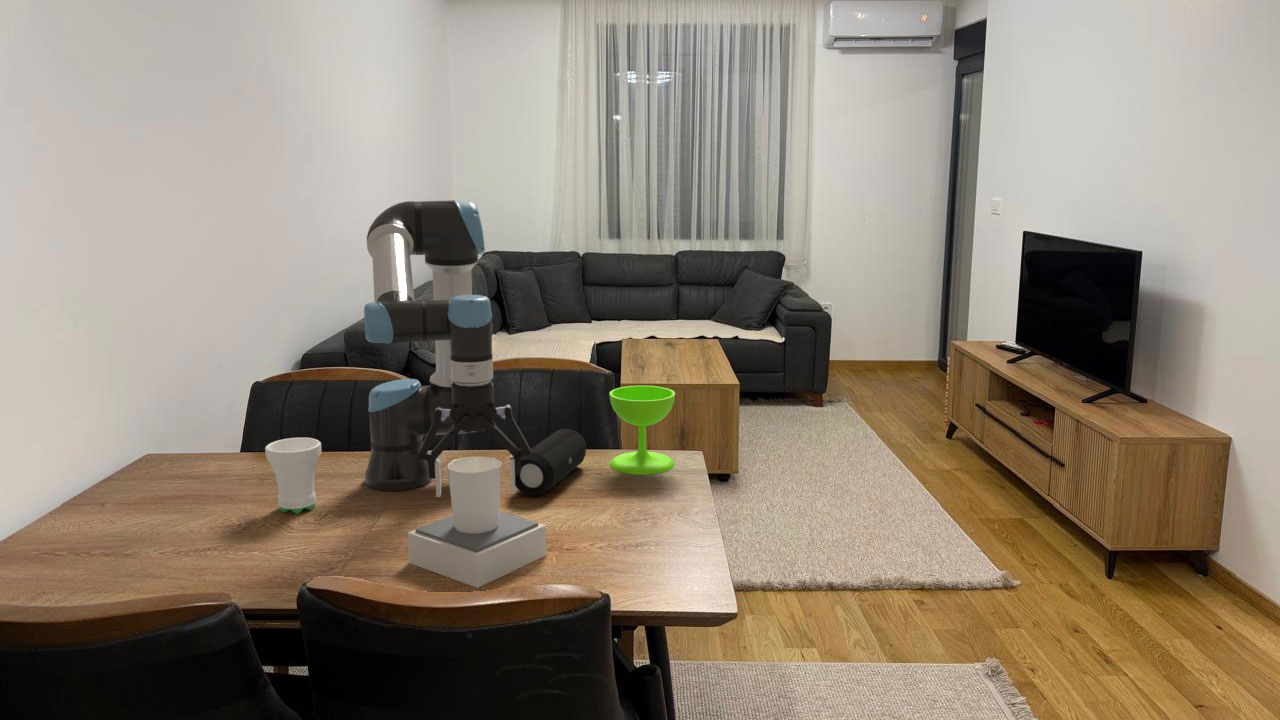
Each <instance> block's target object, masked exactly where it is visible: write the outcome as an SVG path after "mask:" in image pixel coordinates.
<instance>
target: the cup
mask: <svg viewBox="0 0 1280 720" xmlns="http://www.w3.org/2000/svg"><path fill="white" fill-rule="evenodd" d="M264 450H265V457H266V461H268V462H269V464H270V466H271V467H272V470H273V473H274V476H275V479H276V483H277V489H278V497H277V502H278V503H277V504H278V506H279V509H280V511H281V512H282V513H289V511H292V513H294V514H297V515H299V514H300V513H302V511H303V510H304V509H305V510H307V511H312V510H314V509H315V506H316V503H317V493H316V491H315V478H316V477H315V476H316V475H315V474H316V469H317V465H318V461H319V458H320V456H322V442H321V441H320V440H318V439H317V438H316V439H315V438H312V437H291V438H284V439H283V438H282V439H279V440H275V441H273V442H270V443H268V444H267V445H266V446H265V447H264Z"/></svg>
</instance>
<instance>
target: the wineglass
mask: <svg viewBox="0 0 1280 720" xmlns="http://www.w3.org/2000/svg"><path fill="white" fill-rule="evenodd" d="M608 395H609V401H610V404H611V407H612V409H613V411H614V412H615V414H616V415H617V416H618V417H619V418H620V419H621V420H622V421H623V422H626V423H627V424H629V425H633V426H637V428H638V430H637V431H638V432H637V433H638V449H637V451H630V452H623V453H621V454H619V455H617V456H614V457H613V458H612V459H611V460H610V462H609V466H610V468H611V469H612V470H614V471H616V472H619V473H622V474H628V475H636V476H637V475H640V476H644V475H647V476H648V475H657V474H661V473H665V472H668V471H671V470H672V469H674V467H675V466H676V465H675V461H674V460H673V459H672V458H671V457H670V456H668V455H666V454H663V453H660V452H654V451H648V450H647V427H648V426H652V425H655V424H658V423H659V422H661V421H662V420H664V419H665V417H667V416H668V414H669V412H671V411H672V408H673V406H674V403H675V397H676V391H674V390H673V389H671V388H667V387H662V386H656V385H629V386H628V385H627V386H621V387H617V388H614V389H612V390H610V391H609V394H608Z"/></svg>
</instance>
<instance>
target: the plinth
mask: <svg viewBox="0 0 1280 720" xmlns="http://www.w3.org/2000/svg"><path fill="white" fill-rule="evenodd" d="M407 543H408V544H407V545H408V564H411V565H413V566H416V567H420V568H422V569H425V570H428V571H430V572H433V573H436V574H439V575H440V576H444V577H447V578H449V579H453V580H455V581H457V582H461V583H463V584H466V585H468V586H471V587H474V588H476V589H478V588H481V587H483V586H484V585H487V584H488V583H491V582H493V581H495V580H497V579H499V578H501V577H504V576H506V575H508V574H510V573H512V572H514V571H516V570H518V568H519V569H521V568H523V567H524V566H525V567H526V566H527V565H529V564H532V563H533V562H535V561H538V560H540V559H541V558H544V557H546V556H547V551H548V550H547V525H546V524H543V523H539V522H538V521H537V522H536V521H534V520H530V519H527V518H523V517H520V516H518V515H517V516H516V515H513V514H510V513H507V512H503V511H500V514H499V525H498V527H497V528H496V529H494V530H492V531H489V532H486V533H480V534H467V533H462V532H459V531H457V530H456V529H455V528H454V523H453V514H451V515H449V516H446V517H444V518H441V519H439V520H436V521H433V522H430V523H428V524H425V525H423V526H420V527H417V528H415V529H413V530H411V531H408V532H407Z"/></svg>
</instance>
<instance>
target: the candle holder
mask: <svg viewBox="0 0 1280 720" xmlns="http://www.w3.org/2000/svg"><path fill="white" fill-rule="evenodd" d="M446 468H447V474H448V475H447V476H448V483H449V485H448V486H449V494H450V495H449V496H450V502H451V512H452V514H451V515H453V523H454V528H455V529H456V530H457V531H459V532H462V533H467V534H480V533H486V532H489V531H492V530H494V529H496V528H497V527H498V525H499V514H500V512H501V509H500V508H501V507H500V506H501V479H502V478H501V474H502V473H501V472H502V471H501V470H502V461H500V460H499V459H497V458H494V457H490V456H480V455H479V456H467V457H466V456H465V457H461V458H458V459H454V460H452V461H450V462H449V463H448V464H447V465H446Z"/></svg>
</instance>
